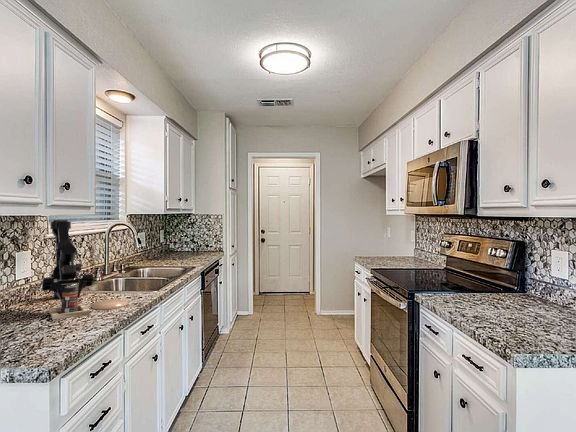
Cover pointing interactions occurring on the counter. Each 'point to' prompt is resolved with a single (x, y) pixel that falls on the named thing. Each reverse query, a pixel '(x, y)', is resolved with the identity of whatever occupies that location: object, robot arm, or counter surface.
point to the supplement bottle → (69, 300)
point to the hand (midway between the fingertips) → (70, 298)
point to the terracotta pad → (109, 304)
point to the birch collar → (71, 314)
